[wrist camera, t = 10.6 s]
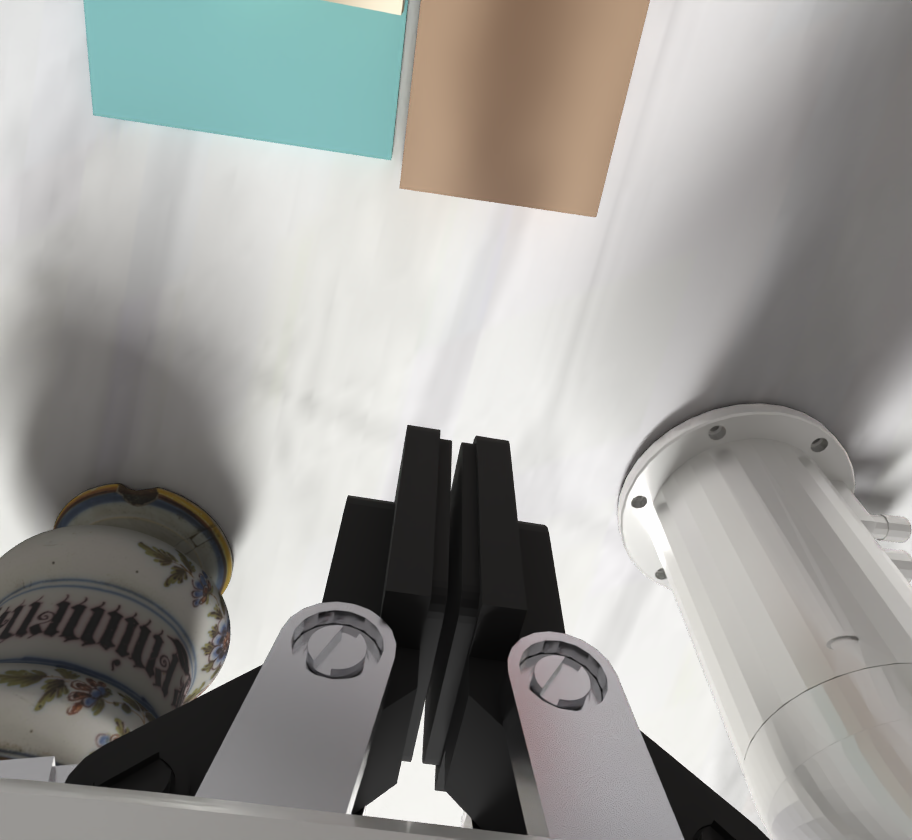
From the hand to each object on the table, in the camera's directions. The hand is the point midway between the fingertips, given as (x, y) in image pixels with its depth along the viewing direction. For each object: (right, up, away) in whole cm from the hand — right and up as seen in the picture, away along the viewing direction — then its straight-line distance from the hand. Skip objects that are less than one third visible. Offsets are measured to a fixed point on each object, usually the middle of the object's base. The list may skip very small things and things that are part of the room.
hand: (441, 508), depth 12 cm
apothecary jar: (-17, -6, +31) cm, 36 cm away
